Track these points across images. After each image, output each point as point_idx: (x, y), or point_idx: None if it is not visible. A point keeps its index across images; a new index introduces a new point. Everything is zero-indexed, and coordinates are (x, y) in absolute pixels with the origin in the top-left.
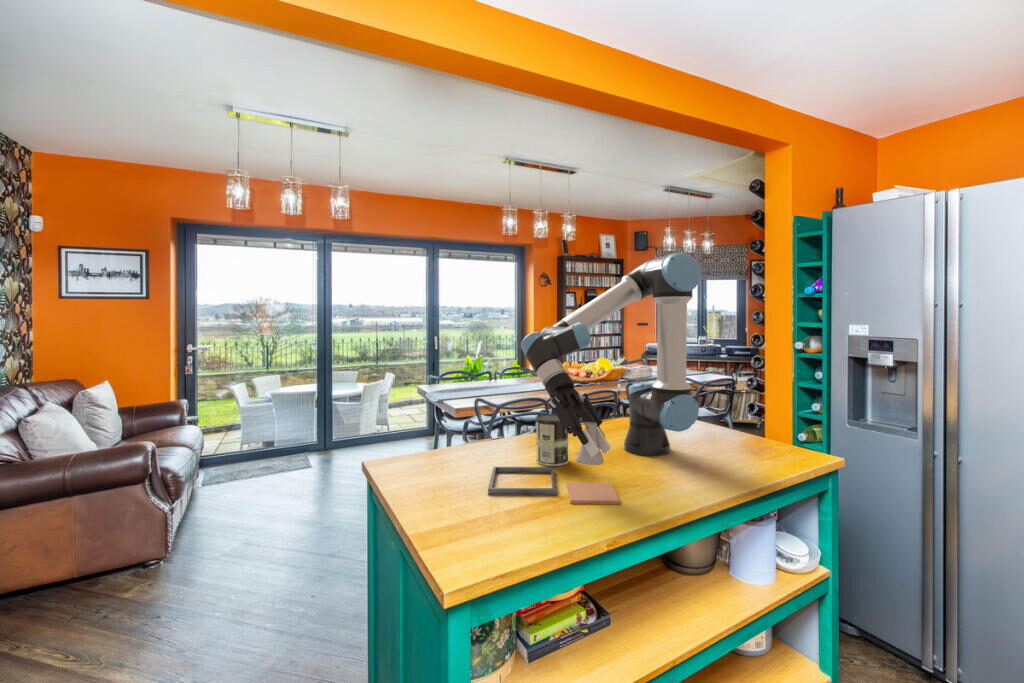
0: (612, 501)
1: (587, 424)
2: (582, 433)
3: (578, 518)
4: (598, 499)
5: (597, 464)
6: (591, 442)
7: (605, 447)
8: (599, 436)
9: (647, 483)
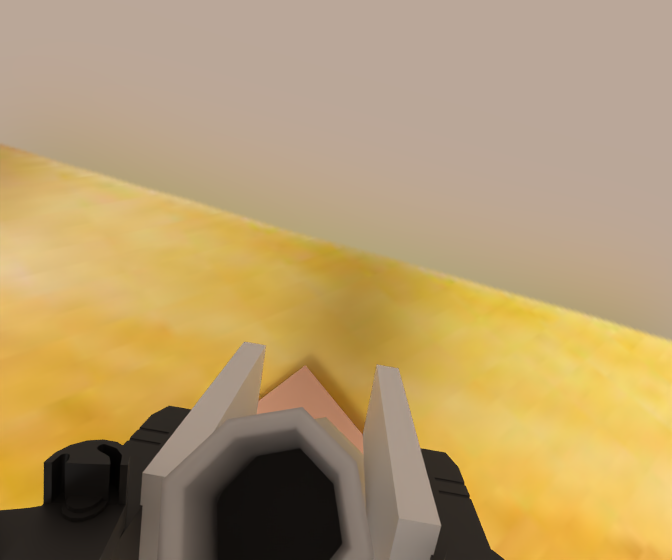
0: (322, 386)
1: (364, 514)
2: (448, 528)
3: (505, 418)
4: (349, 434)
5: (335, 427)
6: (410, 412)
7: (256, 384)
8: None
9: (23, 383)
